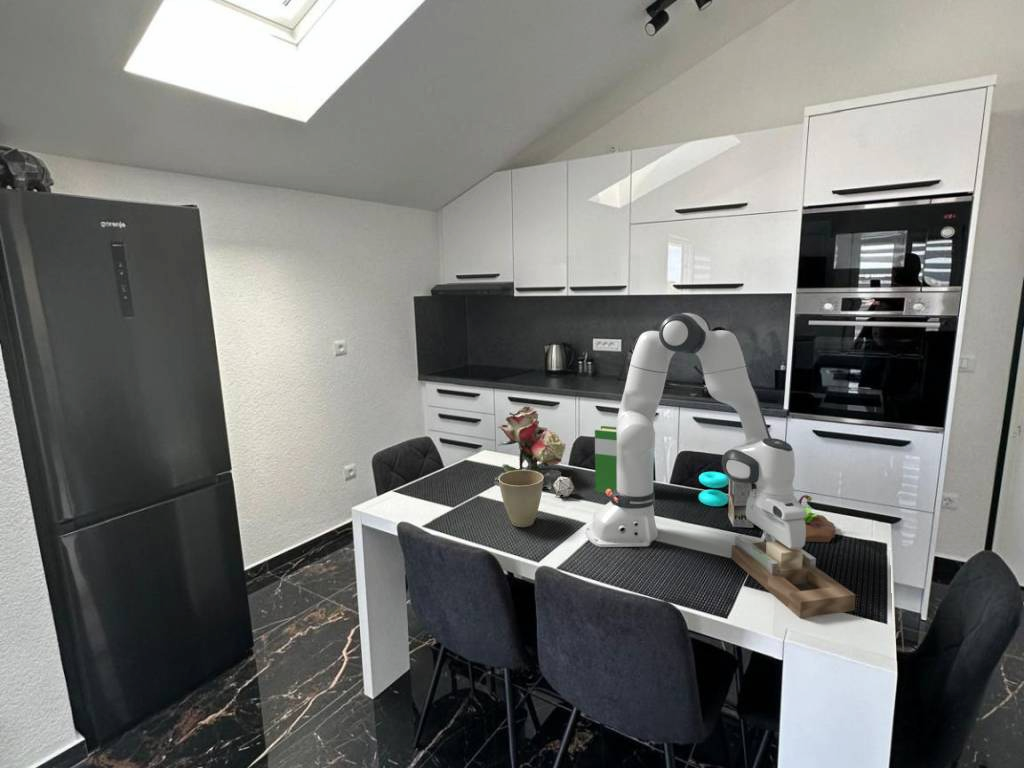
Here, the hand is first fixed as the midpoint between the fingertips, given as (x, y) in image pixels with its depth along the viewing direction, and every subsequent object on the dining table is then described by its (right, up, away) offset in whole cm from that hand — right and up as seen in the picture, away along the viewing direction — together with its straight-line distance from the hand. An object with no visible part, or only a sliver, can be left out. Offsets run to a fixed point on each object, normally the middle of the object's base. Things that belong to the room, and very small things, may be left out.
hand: (772, 549), depth 144 cm
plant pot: (-66, -2, +36) cm, 75 cm away
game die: (-50, +2, +57) cm, 76 cm away
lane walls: (0, -2, -1) cm, 2 cm away
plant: (+20, -1, +24) cm, 32 cm away
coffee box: (+4, -1, +30) cm, 31 cm away
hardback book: (-28, +3, +60) cm, 67 cm away
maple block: (+1, -3, -5) cm, 5 cm away
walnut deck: (+1, -7, -6) cm, 9 cm away
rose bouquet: (-61, +5, +79) cm, 100 cm away
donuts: (+2, +2, +47) cm, 47 cm away
